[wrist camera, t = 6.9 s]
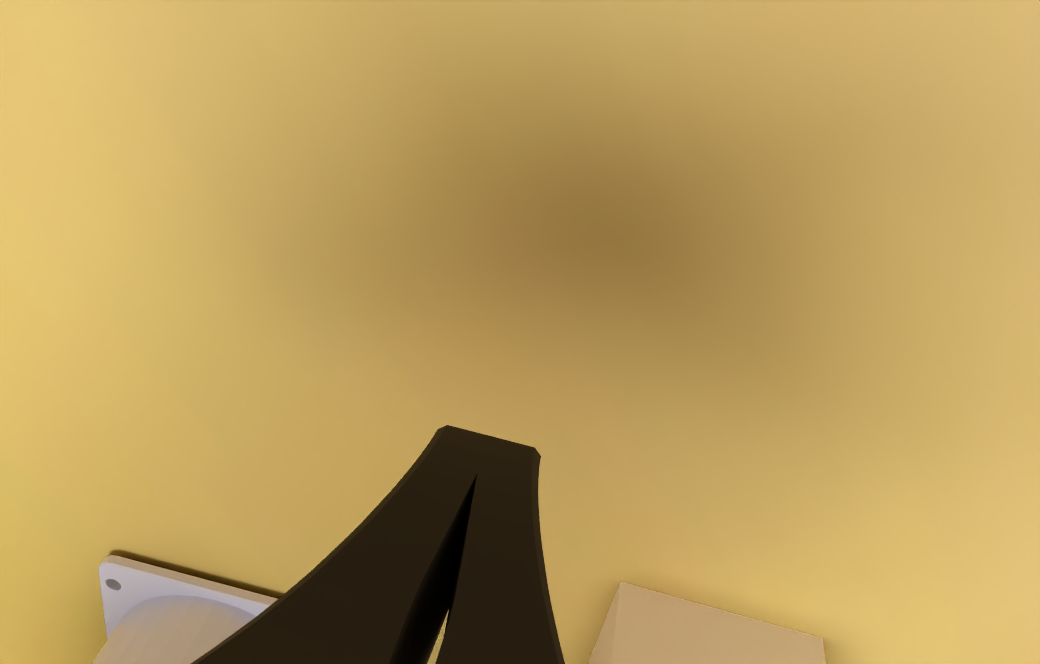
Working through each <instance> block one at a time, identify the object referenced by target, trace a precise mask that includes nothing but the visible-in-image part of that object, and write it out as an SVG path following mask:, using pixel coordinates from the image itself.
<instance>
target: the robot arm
mask: <svg viewBox="0 0 1040 664" xmlns="http://www.w3.org/2000/svg"><path fill="white" fill-rule="evenodd" d="M540 458H541V456H540V454H539V453H538V451H537V450H536V449H535V448H534V447H530V446H527V445H523V444H519V443H515V442H511V441H507V440H503V439H499V438H495V437H491V436H488V435H484V434H480V433H476V432H472V431H468V430H464V429H460V428H456V427H453V426H449V425H446V426H444V427H442V428H440V429H438V430H437V432H436V433H435V435H434V436H433V438H432V440H431V441H430V443H429V444H428V445H427V447H426V448H425V450H424V451H423V452H422V454H421V455H420V456H419V458H418V459H417V460H416V462H415V463H414V464H413V465H412V467H411V468H410V469H409V470H408V472H407V473H406V474H405V475H404V476H403V478H402V479H401V480H400V481H399V482H398V484H397V485H396V486H395V487H394V488H393V489H392V491H391V492H390V493H389V494H388V495H387V496H386V497H385V498H384V499H383V500H382V501H381V502H380V504H379V505H378V506H377V507H376V508H375V509H374V510H373V511H372V512H371V513H370V514H369V515H368V516H367V518H366V519H365V520H364V521H363V522H362V523H361V524H360V525H359V526H358V527H357V528H356V529H355V530H354V531H353V532H352V533H351V534H350V535H349V536H348V537H347V538H346V539H345V540H344V541H343V542H342V543H340V544H339V545H338V546H337V547H336V548H335V549H334V550H333V551H332V552H331V553H330V554H329V555H328V556H327V557H326V558H325V559H324V560H323V561H322V562H320V563H319V564H318V565H317V566H316V567H315V568H314V569H313V570H312V571H311V572H310V573H308V574H307V575H306V576H305V577H304V578H303V579H301V580H300V581H299V582H298V583H297V584H296V585H295V586H293V587H292V588H291V589H290V590H289V591H287V592H286V593H285V594H284V595H283V596H281V597H280V598H279V599H277V598H273V597H269V596H266V595H262V594H258V593H254V592H251V591H247V590H243V589H240V588H236V587H232V586H228V585H225V584H221V583H217V582H213V581H210V580H206V579H202V578H198V577H195V576H191V575H187V574H184V573H180V572H176V571H172V570H169V569H165V568H161V567H157V566H154V565H150V564H146V563H142V562H139V561H135V560H131V559H128V558H124V557H120V556H115V555H110V556H107V557H105V558H104V559H103V561H102V562H101V564H100V565H99V568H98V571H99V579H100V587H101V595H102V603H103V611H104V619H105V627H106V635H107V641H106V643H105V644H104V646H103V647H102V649H101V650H100V652H99V653H98V655H97V656H96V658H95V659H94V661H93V662H92V664H427V662H428V660H429V657H430V655H431V652H432V650H433V647H434V645H435V642H436V640H437V637H438V635H439V632H440V630H441V627H442V625H443V622H444V620H445V617H446V614H447V612H448V609H449V612H448V617H447V623H446V628H445V633H444V638H443V642H442V645H441V648H440V651H439V654H438V658H437V661H436V664H565V662H564V659H563V655H562V651H561V647H560V642H559V638H558V634H557V629H556V625H555V620H554V615H553V611H552V606H551V601H550V595H549V590H548V584H547V578H546V571H545V564H544V557H543V550H542V543H541V533H540V521H539V506H538V476H539V464H540Z"/></svg>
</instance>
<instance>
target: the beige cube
mask: <svg viewBox="0 0 1040 664" xmlns="http://www.w3.org/2000/svg"><path fill="white" fill-rule="evenodd" d="M588 664H826V662H825V653H824V644H823V638H821V637H818V636H814V635H811V634H807V633H803V632H800V631H796V630H793V629H789V628H785V627H782V626H778V625H775V624H771V623H768V622H764V621H760V620H757V619H753V618H750V617H746V616H742V615H739V614H735V613H732V612H728V611H725V610H721V609H717V608H714V607H710V606H707V605H703V604H699V603H696V602H692V601H689V600H685V599H682V598H678V597H674V596H671V595H667V594H664V593H660V592H656V591H653V590H649V589H646V588H642V587H638V586H635V585H631V584H628V583H624V582H620V584H619V587H618V589H617V592H616V594H615V596H614V599H613V601H612V604H611V606H610V609H609V611H608V614H607V616H606V619H605V621H604V624H603V626H602V629H601V631H600V634H599V636H598V639H597V641H596V644H595V646H594V649H593V651H592V654H591V656H590V659H589V661H588Z"/></svg>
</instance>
